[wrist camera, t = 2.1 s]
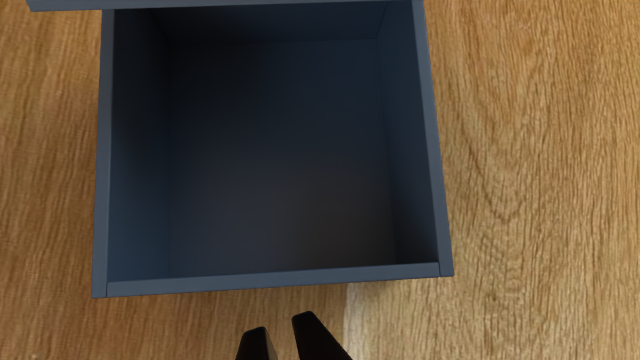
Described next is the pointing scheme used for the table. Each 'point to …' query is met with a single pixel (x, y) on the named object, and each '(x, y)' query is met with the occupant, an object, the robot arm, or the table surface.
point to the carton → (266, 149)
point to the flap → (155, 3)
